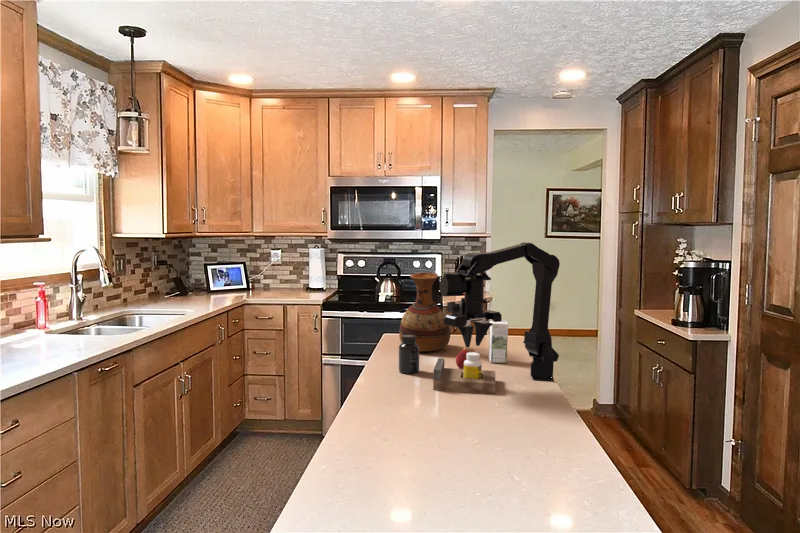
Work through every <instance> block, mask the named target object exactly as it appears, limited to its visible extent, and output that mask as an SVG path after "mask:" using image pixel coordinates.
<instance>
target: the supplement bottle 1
mask: <svg viewBox="0 0 800 533" xmlns="http://www.w3.org/2000/svg"><path fill="white" fill-rule="evenodd" d="M416 341H417V340H416V335H403V336H402V343H401V342H400V344H399V345H398V371H399V373H401V374H405V375H414V374H415V375H416V374H418V373H419V372H420V351H419V345H418V344H417V343H416Z"/></svg>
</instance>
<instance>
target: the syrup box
mask: <svg viewBox="0 0 800 533" xmlns="http://www.w3.org/2000/svg"><path fill="white" fill-rule="evenodd" d="M489 323H493V325H491V326H490V328H489V340H488V360H489V363H490V364H507V363H508V340H509V338H508V337H509V324H508V322H507V321H506V320H501V322H494V321H493V320H489Z"/></svg>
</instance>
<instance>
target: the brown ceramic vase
mask: <svg viewBox="0 0 800 533" xmlns="http://www.w3.org/2000/svg"><path fill="white" fill-rule="evenodd" d="M409 278H410V279H411V280H412V281H413V282H414V284H415V287H416V290H415V291H416V297H415V301H414V303H413V304H411V305H410V306H409V307H408V308H407V310H406V311H405V312H404V314H403V315H402V318H401V321H400V324H399V336H398V337H399V341H400V344H401V343H402V336H403V335H416V340H417V341H416V343H417V344H418V345H419V352H431V351H438V350H440V349H443V348H445V347H446V346H447V345H448V344H449V343H450V339H451V329H450V328H451V327H450V325H446V324H444V318H445V316H446V315H445V313H444V312H443V310H442V309H441V307H439V306H438V301H439V295H440V282H441V279H440V277H439V275H438V274H437V273H435V272H430V271H429V272H428V271H426V272H425V271H424V272H415V273H414V274H410V275H409Z"/></svg>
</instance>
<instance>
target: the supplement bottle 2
mask: <svg viewBox="0 0 800 533" xmlns="http://www.w3.org/2000/svg"><path fill="white" fill-rule="evenodd" d="M468 352H469V351H468ZM466 358H467V360H465V361H464V373H463V378H469V379H481V370H482V368H483V367H482V365H483V363H482V361H481V360H480V359H481V355H480V353H479V352H469V353H467V354H466Z"/></svg>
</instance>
